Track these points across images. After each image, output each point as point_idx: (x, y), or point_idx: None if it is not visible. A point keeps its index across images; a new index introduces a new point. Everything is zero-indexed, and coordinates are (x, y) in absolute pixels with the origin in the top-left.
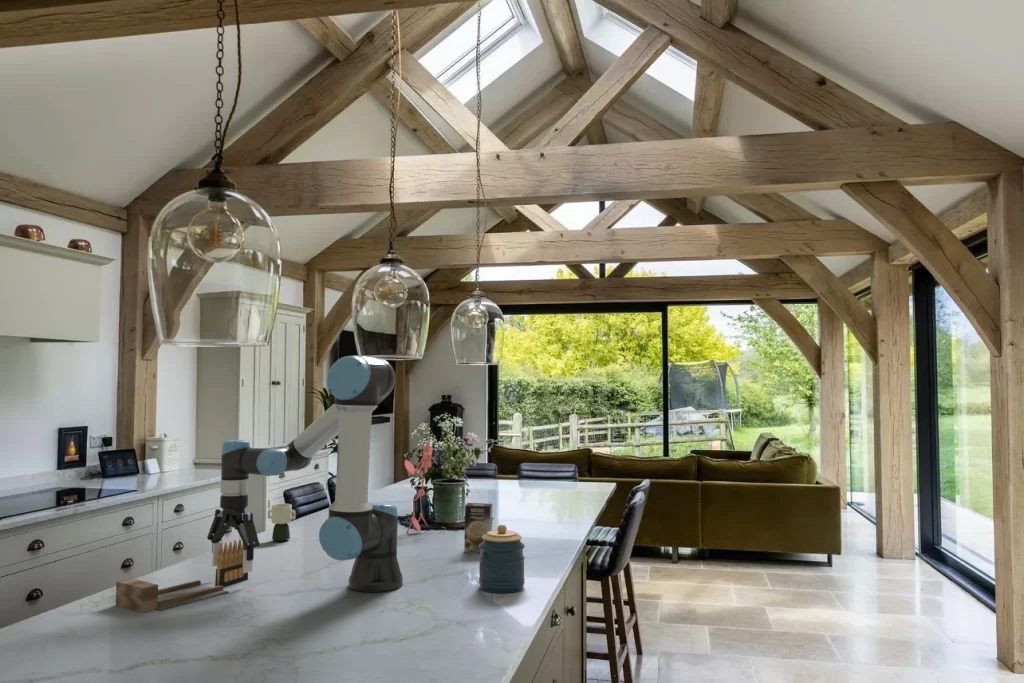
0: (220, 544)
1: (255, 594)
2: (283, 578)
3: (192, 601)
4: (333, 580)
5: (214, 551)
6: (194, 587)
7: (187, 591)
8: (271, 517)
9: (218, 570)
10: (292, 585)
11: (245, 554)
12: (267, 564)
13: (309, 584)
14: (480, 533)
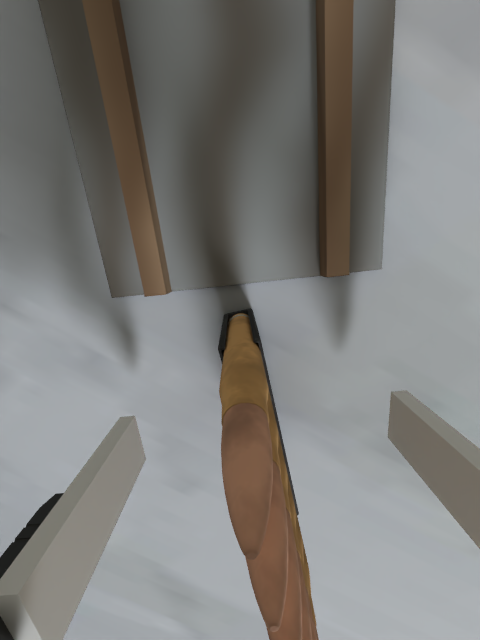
0: (251, 533)
1: (18, 354)
2: (172, 522)
3: (57, 71)
4: None
5: (474, 467)
6: (299, 228)
7: (256, 160)
8: None
9: (234, 338)
10: None
11: (40, 536)
12: (387, 578)
13: None
14: None
